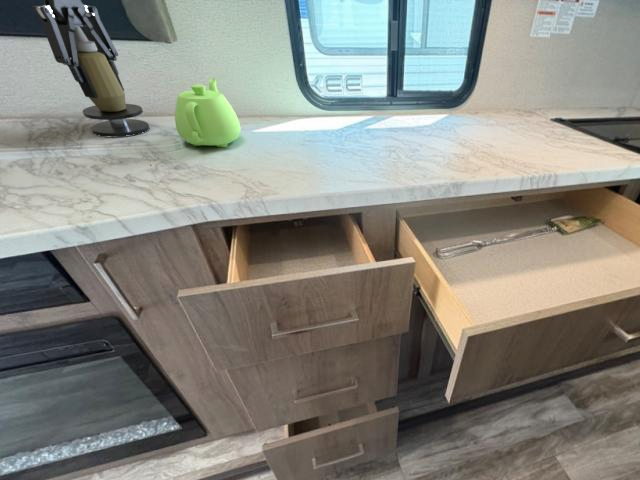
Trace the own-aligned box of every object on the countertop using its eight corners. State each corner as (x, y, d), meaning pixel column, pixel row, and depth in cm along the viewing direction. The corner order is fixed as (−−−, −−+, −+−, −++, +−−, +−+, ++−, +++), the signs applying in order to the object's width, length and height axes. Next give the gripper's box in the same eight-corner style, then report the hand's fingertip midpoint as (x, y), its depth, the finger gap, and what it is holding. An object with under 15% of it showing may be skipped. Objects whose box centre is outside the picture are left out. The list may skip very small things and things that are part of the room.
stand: (80, 133, 88) (68, 112, 84) (118, 120, 97) (109, 101, 94) (126, 140, 87) (116, 118, 83) (160, 126, 96) (152, 106, 93)
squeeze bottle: (136, 111, 89) (100, 24, 77) (100, 115, 84) (55, 23, 72) (124, 104, 93) (88, 20, 80) (90, 107, 88) (46, 19, 76)
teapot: (200, 126, 99) (184, 73, 90) (253, 129, 100) (242, 77, 92) (169, 152, 83) (145, 91, 74) (232, 155, 84) (216, 96, 76)
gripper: (16, -32, 63) (84, 104, 78) (105, -26, 78) (147, 87, 93) (-20, -36, 63) (55, 100, 79) (75, -29, 78) (123, 84, 94)
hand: (105, 93), depth 86 cm, fingers closed on squeeze bottle, 8 cm apart
